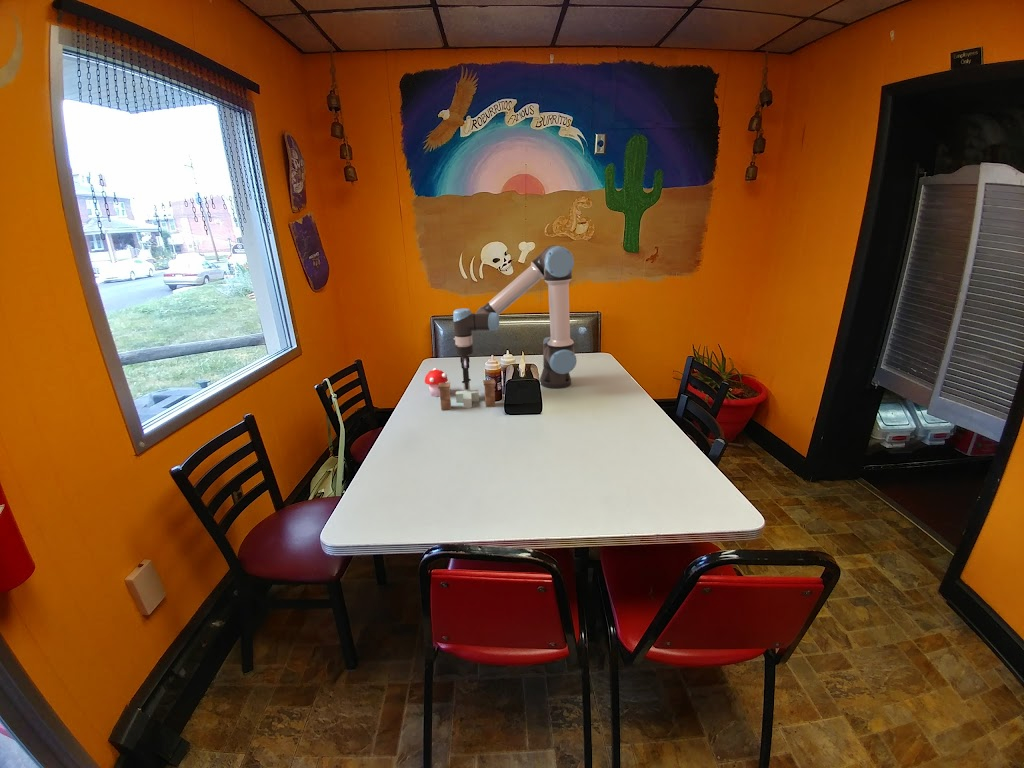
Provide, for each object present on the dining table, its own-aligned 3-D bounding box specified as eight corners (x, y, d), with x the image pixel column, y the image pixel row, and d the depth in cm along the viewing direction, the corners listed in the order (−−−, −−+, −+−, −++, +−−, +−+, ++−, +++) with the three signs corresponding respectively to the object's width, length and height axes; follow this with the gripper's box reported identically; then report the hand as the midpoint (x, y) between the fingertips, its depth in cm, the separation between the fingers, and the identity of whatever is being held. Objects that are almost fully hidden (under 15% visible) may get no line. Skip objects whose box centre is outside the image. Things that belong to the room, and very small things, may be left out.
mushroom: (447, 398, 203) (445, 373, 199) (423, 398, 203) (420, 373, 199) (450, 390, 213) (448, 366, 209) (428, 390, 213) (425, 366, 209)
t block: (478, 398, 201) (478, 389, 200) (479, 407, 192) (479, 398, 190) (456, 399, 201) (455, 391, 199) (456, 408, 191) (455, 400, 189)
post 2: (495, 402, 196) (494, 379, 192) (496, 406, 191) (495, 383, 188) (484, 403, 195) (483, 380, 192) (485, 407, 191) (483, 383, 187)
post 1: (451, 405, 194) (450, 382, 190) (451, 409, 189) (449, 386, 186) (440, 406, 194) (438, 383, 190) (440, 410, 189) (438, 386, 185)
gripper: (455, 341, 199) (459, 390, 207) (455, 349, 187) (458, 401, 195) (472, 340, 200) (475, 389, 208) (473, 348, 187) (476, 400, 195)
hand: (467, 395), depth 201 cm, fingers closed
